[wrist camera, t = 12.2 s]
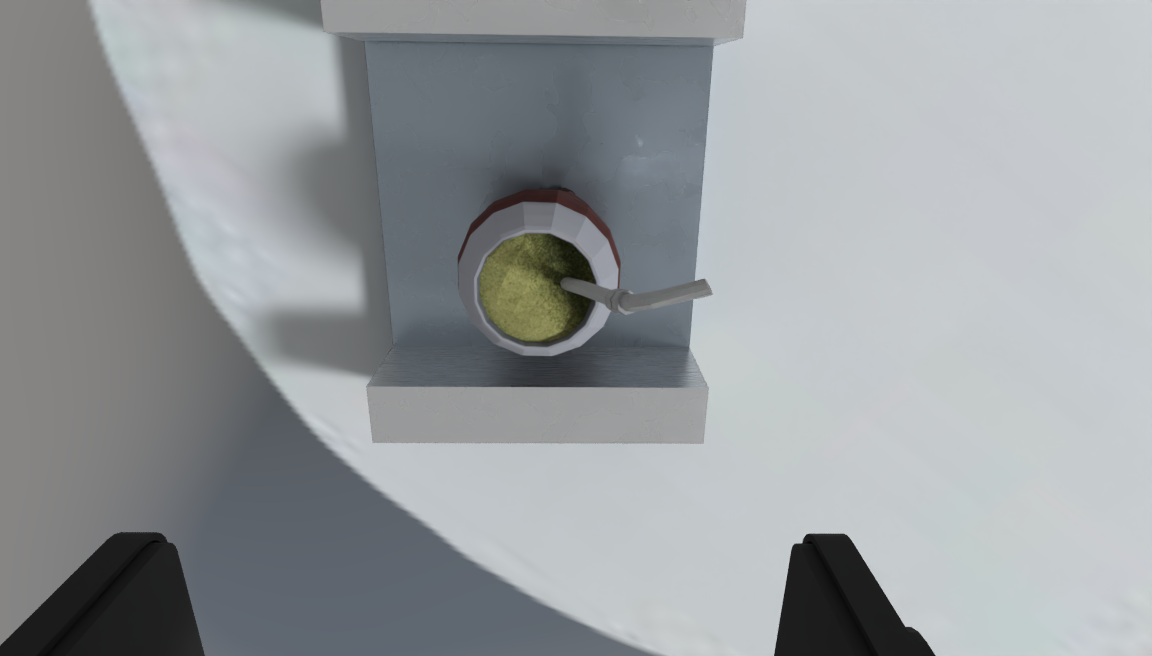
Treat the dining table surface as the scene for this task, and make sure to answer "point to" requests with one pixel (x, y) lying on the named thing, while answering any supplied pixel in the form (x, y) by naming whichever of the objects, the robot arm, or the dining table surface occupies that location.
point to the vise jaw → (538, 21)
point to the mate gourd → (548, 274)
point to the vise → (550, 162)
